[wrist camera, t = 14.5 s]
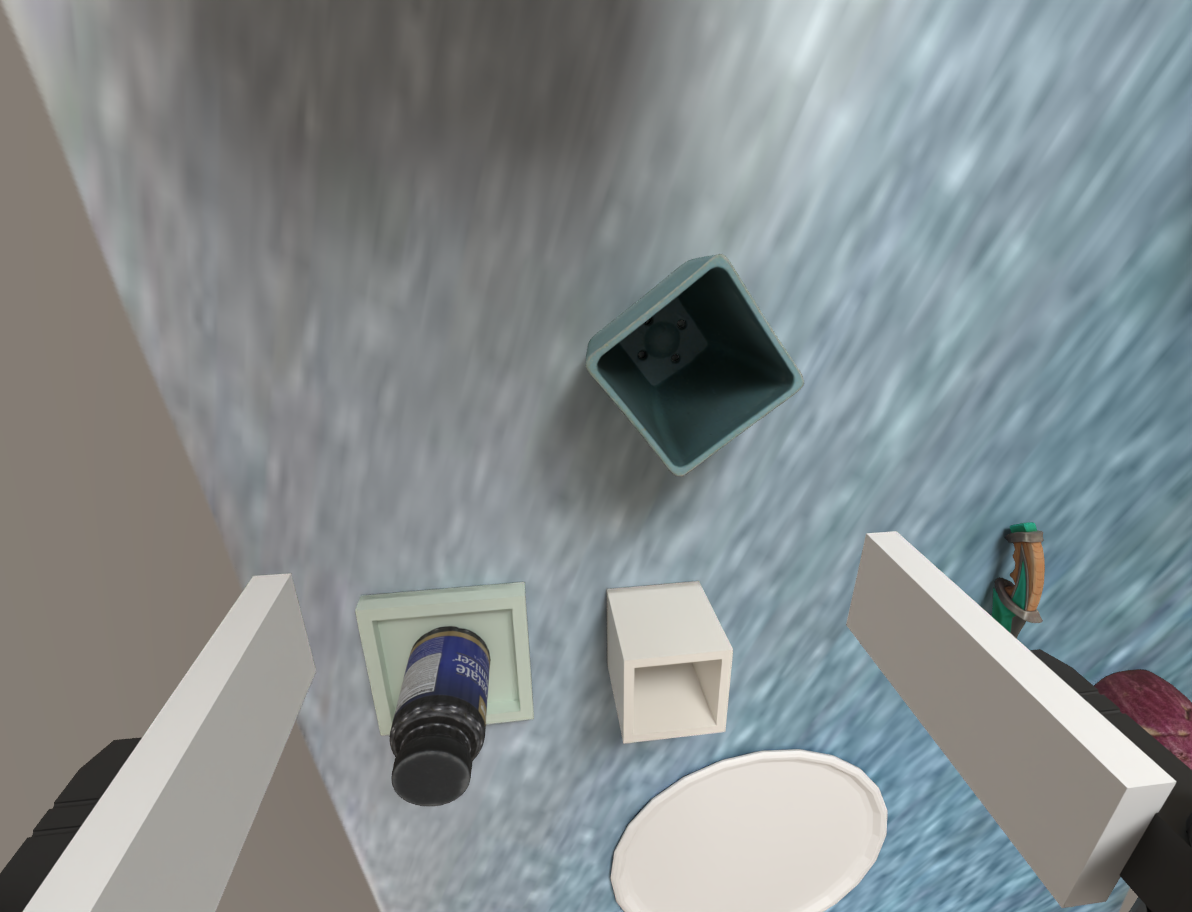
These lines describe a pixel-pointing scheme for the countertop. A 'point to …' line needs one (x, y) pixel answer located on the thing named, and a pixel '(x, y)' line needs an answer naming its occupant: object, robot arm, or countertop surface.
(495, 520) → the countertop surface
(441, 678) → the pill bottle
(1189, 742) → the vegetable
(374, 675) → the tray
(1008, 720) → the robot arm
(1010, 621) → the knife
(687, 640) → the open cream box
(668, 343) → the flower pot
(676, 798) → the plate
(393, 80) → the countertop surface
